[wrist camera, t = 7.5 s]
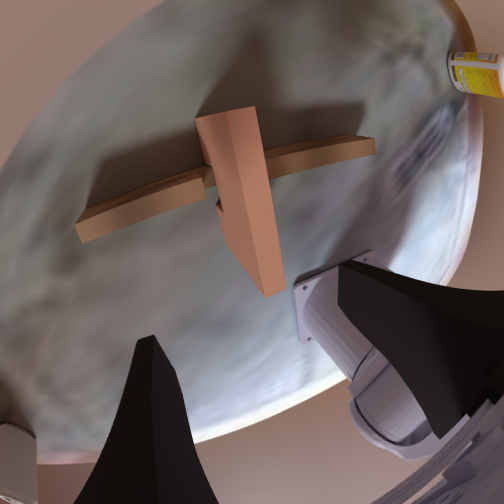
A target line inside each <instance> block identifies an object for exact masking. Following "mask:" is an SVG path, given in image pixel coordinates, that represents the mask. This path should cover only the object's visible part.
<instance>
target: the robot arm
mask: <svg viewBox="0 0 504 504" xmlns="http://www.w3.org/2000/svg"><path fill="white" fill-rule="evenodd" d="M375 257H376V253H375V252H374V251H372V250H371V251H369V252H367V253H365V254H362V255H360V256H358V257H356V258H354V259H352V260H348V261H346V262H343V263H341V264H339V265H338V266H336V267H334V268H332V269H329V270H327V271H325V272H323V273H320V274H318V275H316V276H314V277H311V278H309V279H307V280H304V281H302V282H300V283H297V284H296V285H295V286H294V288H293V291H294V300H295V308H296V317H297V326H298V335H299V342H300V343H301V344H306V343H308V342H310V341H312V340H314V339H316V340H317V342H318V343H319V344H320V345H321V347H322V348H323V349H324V350H325V351H326V353H327V354H328V355H329V356H330V358H331V359H332V360H333V361H334V362H335V364H336V365H337V366H338V367H339V368H340V370H341V371H342V372H343V373H344V375H345V376H346V377H347V378H348V379H349V380H350V382H351V384H350V385H349V386H348V387H347V389H348V390H349V391H350V393H351V394H352V395H353V397H352V398H351V399H350V401H349V409H350V416H351V419H352V421H353V423H354V425H355V426H356V428H357V429H358V431H359V432H360V433H361V434H362V435H363V436H364V437H365V438H366V439H367V440H368V441H370V442H371V443H372V444H374V445H376V446H378V447H380V448H384V449H387V450H389V451H391V452H392V453H394V454H396V455H397V456H399V457H401V458H403V459H405V460H406V461H411V460H416V459H421V458H425V457H429V456H433V455H434V456H433V457H432V458H431V459H429V460H428V461H427V462H426V463H425V464H424V465H423V466H421V467H420V468H419V469H418V470H417V471H416V472H414V473H413V474H412V475H410V476H409V477H408V478H406V479H405V480H404V481H403V482H401V483H400V484H399V485H397V486H396V487H394V488H393V489H392V490H390V491H389V492H388V493H386V494H385V495H383V496H382V497H380V498H379V499H377V500H375V501H374V502H372V503H371V504H403V503H404V502H405V501H406V500H408V499H409V498H410V497H412V496H413V495H414V494H416V493H417V492H418V491H419V490H421V489H422V488H423V487H424V486H425V485H427V484H428V483H429V482H430V481H431V480H432V479H433V478H434V477H436V476H437V475H438V474H439V473H440V472H441V471H442V470H443V469H444V468H445V467H446V466H447V465H448V464H449V463H450V462H451V461H452V460H453V459H454V460H453V461H452V462H451V463H450V464H449V465H448V467H447V468H446V469H445V471H444V472H443V473H442V475H443V476H444V478H443V479H442V480H441V481H440V482H438V483H437V484H436V485H435V486H434V487H432V488H431V489H430V490H429V491H427V492H426V493H425V494H423V495H422V496H421V497H419V498H418V499H417V500H415V501H414V502H413V503H411V504H504V290H502V291H481V290H468V289H458V288H452V287H447V286H442V285H436V284H432V283H428V282H424V281H420V280H417V279H413V278H410V277H406V276H403V275H400V274H397V273H394V272H393V271H391V270H390V269H388V268H387V267H385V266H384V265H382V264H381V263H379V262H378V261H377V260H375ZM303 286H305V287H303ZM74 504H219V503H218V501H217V499H216V497H215V495H214V493H213V491H212V488H211V486H210V485H209V482H208V480H207V478H206V475H205V473H204V471H203V468H202V466H201V463H200V461H199V458H198V456H197V452H196V450H195V446H194V442H193V438H192V434H191V430H190V426H189V421H188V417H187V413H186V408H185V403H184V399H183V394H182V391H181V388H180V385H179V381H178V378H177V375H176V372H175V369H174V368H173V366H172V365H171V363H170V361H169V360H168V358H167V356H166V355H165V353H164V351H163V350H162V348H161V346H160V344H159V343H158V341H157V339H156V337H155V336H154V335H151V336H148V337H145V338H142V339H138V341H137V343H136V347H135V351H134V355H133V358H132V362H131V366H130V370H129V374H128V377H127V381H126V384H125V388H124V391H123V395H122V398H121V401H120V404H119V407H118V410H117V414H116V417H115V419H114V422H113V425H112V428H111V430H110V433H109V436H108V438H107V441H106V443H105V445H104V448H103V450H102V452H101V454H100V457H99V459H98V461H97V463H96V465H95V467H94V469H93V471H92V473H91V475H90V477H89V478H88V480H87V482H86V484H85V486H84V488H83V489H82V491H81V493H80V494H79V496H78V498H77V499H76V500H75V502H74Z"/></svg>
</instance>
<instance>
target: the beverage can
mask: <svg viewBox="0 0 504 504" xmlns="http://www.w3.org/2000/svg"><path fill="white" fill-rule="evenodd" d="M36 468H37V443H36V441H35V440H34V438H33V437H32V435H31V434H30V433H28V432H27V431H26V430H24V429H22V428H20V427H18V426H15V425H13V424H8V423H5V424H2V425H0V498H2V499H3V500H6V501H7V502H10V503H12V504H38V494H37V470H36Z"/></svg>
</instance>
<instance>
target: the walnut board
mask: <svg viewBox="0 0 504 504" xmlns="http://www.w3.org/2000/svg"><path fill="white" fill-rule="evenodd" d="M263 152H264V157H265V163H266V168H267V174H268V179H272V178H276V177H280V176H283V175H287V174H291V173H295V172H299V171H303V170H307V169H311V168H315V167H319V166H323V165H327V164H332V163H336V162H340V161H345V160H349V159H354V158H359V157H364V156H368V155H373V154H376V151H375V138H370V137H364V136H357V135H350V134H347V135H341V136H334V137H328V138H323V139H317V140H311V141H306V142H301V143H296V144H291V145H286V146H282V147H277V148H273V149H268V150H264V151H263ZM215 185H217V184H216V180H215V176H214V171H213V167H212V166H210V165H207V166H203V167H200V168H197V169H193V170H190V171H187V172H184V173H181V174H178V175H174V176H171V177H168V178H165V179H162V180H159V181H157V182H154V183H151V184H148V185H145V186H142V187H140V188H137V189H134V190H132V191H129V192H126V193H124V194H121V195H119V196H116V197H114V198H111V199H109V200H106V201H104V202H101V203H99V204H96V205H94V206H92V207H89V208H87V209H85V210H84V212H83V213H82V214H81V216H80V217H79V219H78V220H77V222H76V223H75V227H76V230H77V232H78V234H79V236H80V239H81V241H82V243H83V244H84V243H86V242H89V241H91V240H93V239H96V238H98V237H101V236H103V235H106V234H108V233H111V232H113V231H116V230H118V229H121V228H123V227H126V226H129V225H131V224H134V223H136V222H139V221H142V220H144V219H147V218H150V217H153V216H155V215H158V214H161V213H164V212H167V211H170V210H172V209H175V208H178V207H181V206H184V205H187V204H190V203H193V202H196V201H199V200H202V199H205V198H207V196H206V192H205V189H206V188H209V187H212V186H215Z"/></svg>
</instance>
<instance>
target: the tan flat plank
mask: <svg viewBox="0 0 504 504" xmlns="http://www.w3.org/2000/svg"><path fill="white" fill-rule="evenodd" d="M195 122H196V127H197V131H198V135H199V139H200V143H201V148H202V152H203V156H204V160H205V163H206V164H208V165H210V166H212V167H213V171H214V176H215V180H216V184H217V188H218V192H219V196H220V200H221V204H218V205H216V208H217V212H218V216H219V220H220V223H221V227H222V231H223V235H224V239H225V242H226V245H227V246H228V247H229V249H230V250H231V251H232V253H233V254H234V256H235V257H236V258H237V260H238V261H239V262H240V264H241V265H242V267H243V268H244V269H245V271H246V272H247V273H248V275H249V276H250V278H251V279H252V280H253V282H254V283H255V284H256V286H257V287H258V288H259V290H260V291H261V292H262V294H263V295H264V297H267V296H270V295H272V294H275V293H277V292H279V291H282V290H284V289H286V285H285V278H284V271H283V265H282V258H281V252H280V245H279V239H278V233H277V227H276V220H275V214H274V208H273V202H272V197H271V191H270V185H269V179H268V174H267V168H266V163H265V157H264V152H263V146H262V141H261V136H260V130H259V125H258V120H257V115H256V110H255V106H252V107H246V108H241V109H235V110H230V111H225V112H221V113H216V114H212V115H207V116H203V117H199V118H195Z"/></svg>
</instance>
